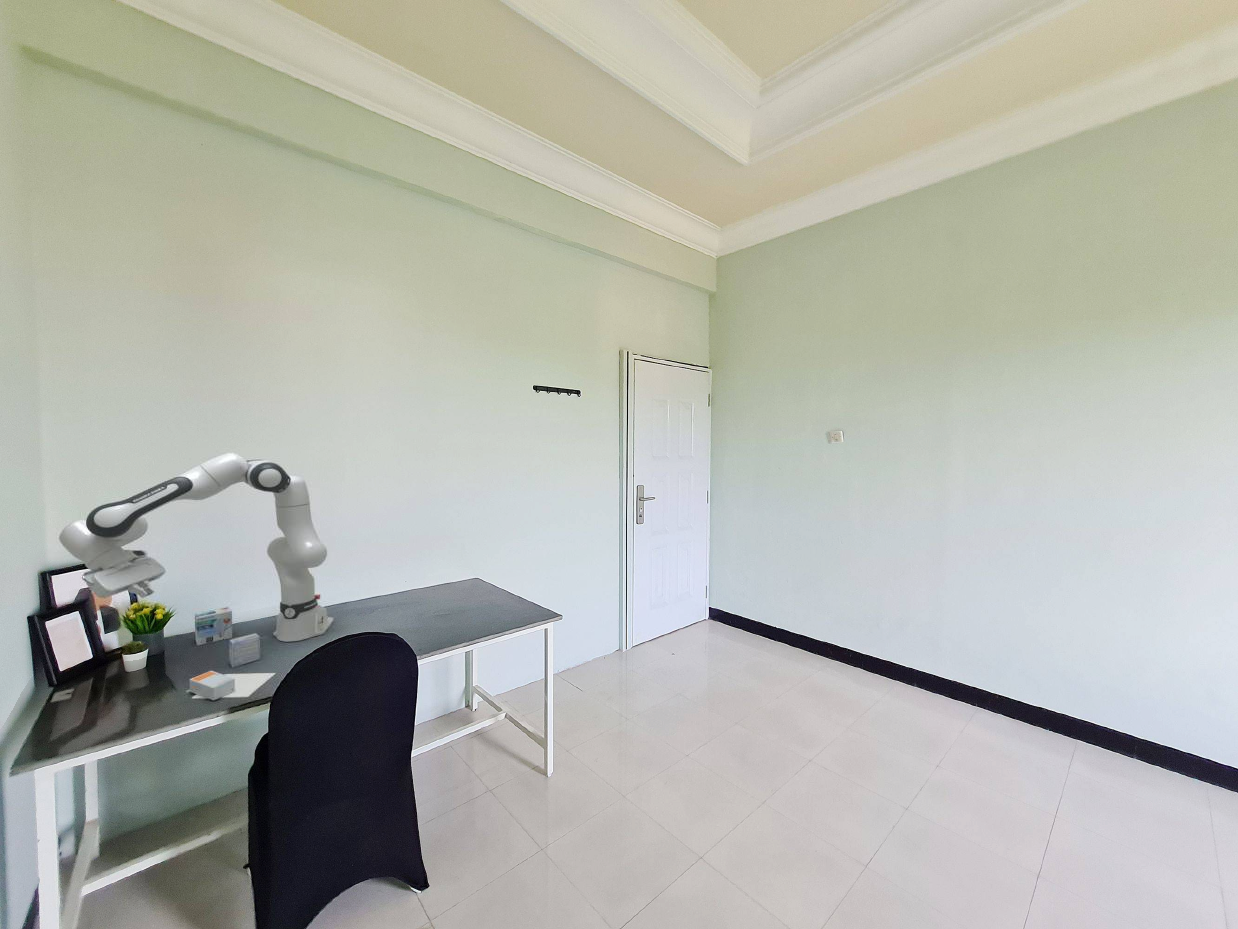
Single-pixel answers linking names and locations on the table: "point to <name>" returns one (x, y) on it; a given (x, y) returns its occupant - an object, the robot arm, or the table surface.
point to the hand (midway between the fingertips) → (148, 594)
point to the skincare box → (212, 685)
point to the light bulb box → (213, 625)
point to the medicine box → (244, 650)
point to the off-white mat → (244, 684)
